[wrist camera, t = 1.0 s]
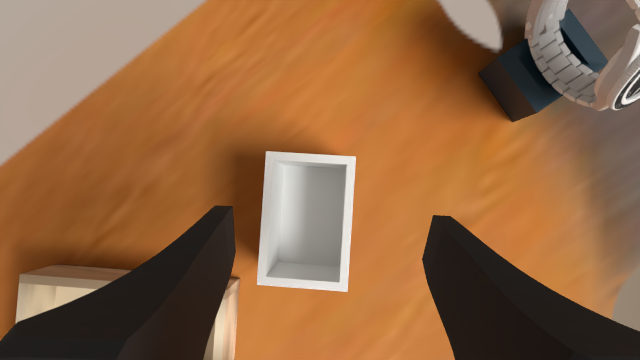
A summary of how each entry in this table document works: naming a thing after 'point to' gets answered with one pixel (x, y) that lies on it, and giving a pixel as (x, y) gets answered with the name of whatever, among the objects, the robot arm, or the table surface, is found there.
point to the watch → (563, 65)
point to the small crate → (306, 221)
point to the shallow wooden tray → (76, 281)
